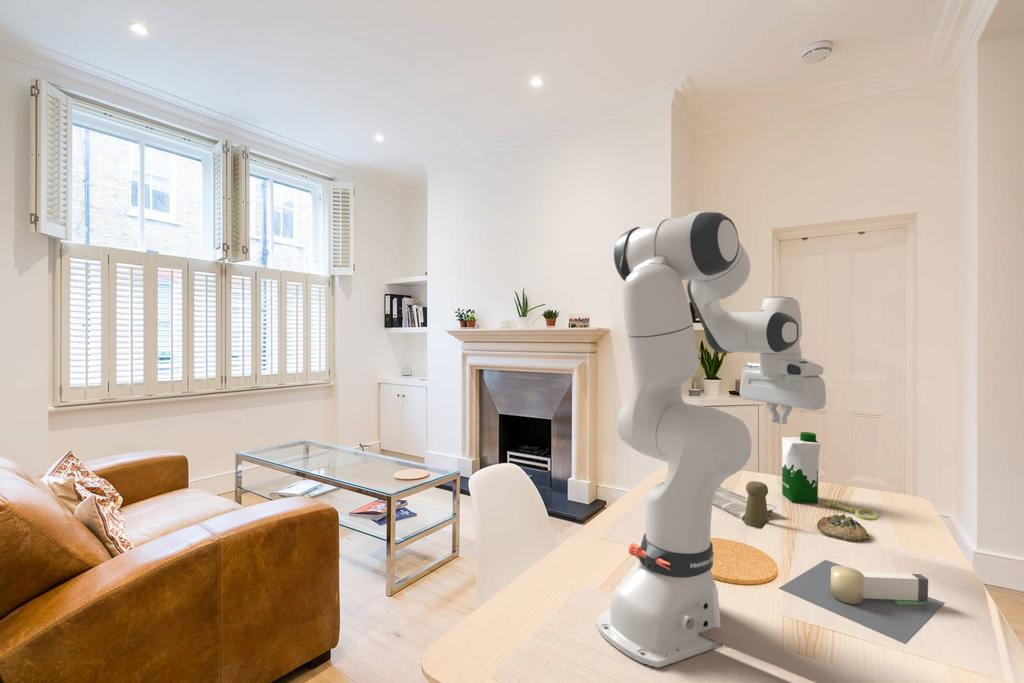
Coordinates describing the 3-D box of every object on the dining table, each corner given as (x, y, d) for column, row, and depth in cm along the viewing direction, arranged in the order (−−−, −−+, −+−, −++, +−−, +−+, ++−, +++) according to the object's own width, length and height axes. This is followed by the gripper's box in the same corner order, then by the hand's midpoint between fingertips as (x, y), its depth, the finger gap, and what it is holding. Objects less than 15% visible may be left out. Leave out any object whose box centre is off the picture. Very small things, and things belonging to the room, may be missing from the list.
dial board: (905, 652, 78) (905, 641, 78) (778, 595, 94) (778, 586, 94) (945, 610, 89) (945, 600, 89) (825, 566, 106) (826, 557, 106)
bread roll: (828, 520, 130) (831, 502, 130) (876, 541, 121) (879, 522, 120) (806, 531, 125) (809, 513, 124) (855, 554, 115) (858, 535, 114)
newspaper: (665, 483, 163) (665, 472, 163) (695, 479, 167) (695, 469, 167) (746, 524, 129) (746, 511, 129) (782, 517, 133) (782, 505, 133)
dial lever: (840, 603, 89) (840, 578, 88) (825, 588, 94) (825, 565, 93) (934, 607, 87) (934, 582, 87) (913, 592, 92) (914, 568, 92)
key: (824, 506, 142) (824, 499, 141) (876, 514, 135) (876, 507, 135) (825, 514, 135) (825, 507, 135) (880, 524, 129) (880, 516, 129)
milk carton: (822, 505, 141) (824, 437, 140) (789, 503, 142) (790, 436, 142) (808, 494, 150) (809, 430, 149) (777, 493, 151) (778, 429, 150)
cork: (772, 529, 125) (773, 487, 124) (747, 527, 126) (747, 485, 126) (765, 519, 131) (765, 479, 130) (741, 518, 132) (741, 478, 132)
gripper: (734, 362, 124) (733, 416, 124) (812, 369, 105) (811, 432, 106) (751, 361, 126) (750, 414, 127) (830, 368, 108) (829, 429, 108)
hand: (779, 422), depth 116 cm, fingers closed
